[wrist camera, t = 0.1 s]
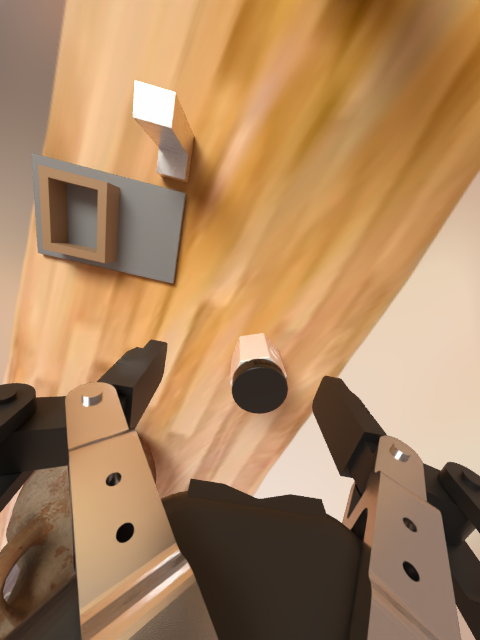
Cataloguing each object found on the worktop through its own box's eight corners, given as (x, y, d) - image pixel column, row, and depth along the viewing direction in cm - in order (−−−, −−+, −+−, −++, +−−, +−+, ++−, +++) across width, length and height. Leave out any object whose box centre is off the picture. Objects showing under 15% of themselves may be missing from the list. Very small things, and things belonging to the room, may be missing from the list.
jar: (285, 356, 44) (301, 396, 32) (252, 378, 45) (256, 424, 34) (257, 323, 41) (263, 354, 30) (223, 348, 43) (218, 386, 32)
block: (166, 128, 32) (135, 80, 22) (194, 136, 32) (175, 92, 22) (161, 176, 33) (130, 151, 24) (187, 183, 34) (167, 160, 24)
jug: (100, 482, 55) (-45, 734, 27) (53, 415, 48) (-207, 661, 20) (182, 465, 54) (118, 716, 25) (146, 393, 47) (2, 629, 18)
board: (36, 154, 32) (8, 143, 29) (186, 194, 34) (179, 187, 30) (42, 252, 37) (18, 254, 33) (174, 282, 39) (166, 287, 35)
